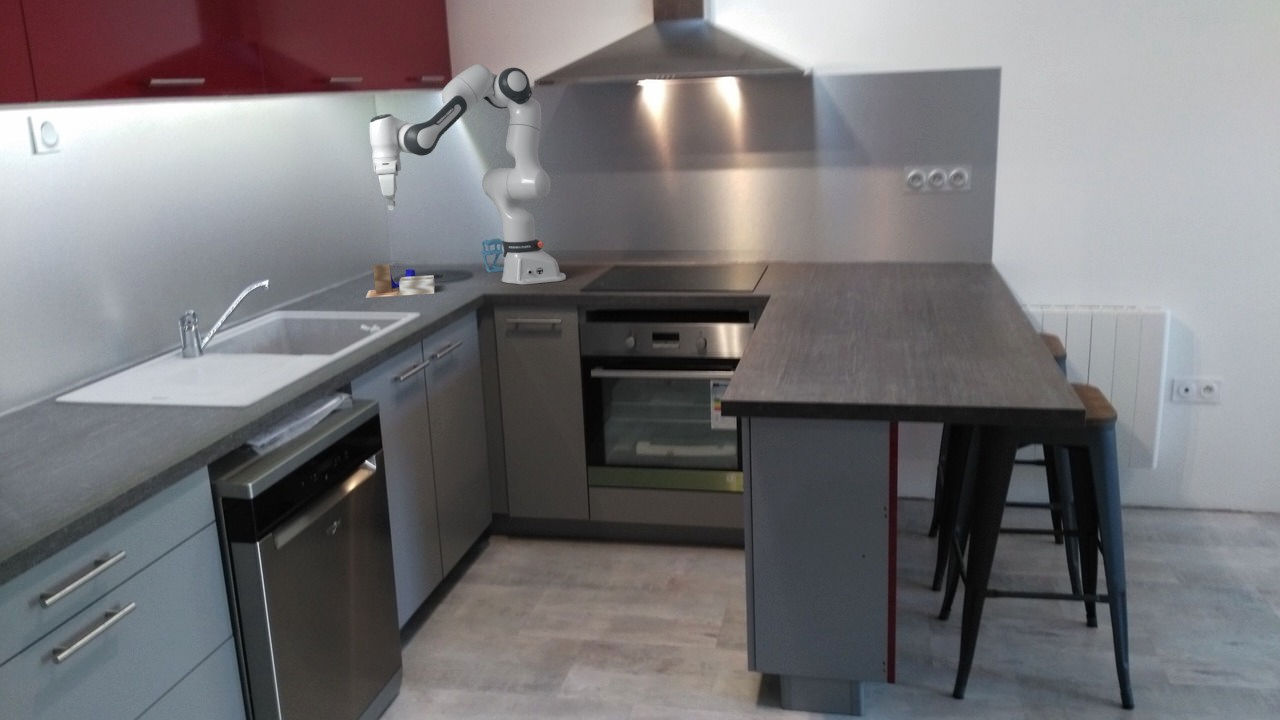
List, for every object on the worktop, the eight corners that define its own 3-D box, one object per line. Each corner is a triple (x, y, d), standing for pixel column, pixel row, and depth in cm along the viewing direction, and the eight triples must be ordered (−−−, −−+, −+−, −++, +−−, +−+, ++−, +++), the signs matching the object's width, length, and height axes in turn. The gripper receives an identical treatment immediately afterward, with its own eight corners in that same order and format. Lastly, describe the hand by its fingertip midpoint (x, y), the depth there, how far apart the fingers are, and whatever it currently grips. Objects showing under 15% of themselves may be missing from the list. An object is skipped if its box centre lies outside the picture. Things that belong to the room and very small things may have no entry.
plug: (392, 290, 356) (389, 264, 354) (391, 292, 353) (389, 265, 350) (376, 291, 355) (373, 265, 353) (375, 293, 352) (373, 266, 350)
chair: (499, 267, 403) (496, 236, 400) (507, 270, 396) (505, 238, 393) (480, 269, 399) (477, 238, 396) (488, 272, 392) (486, 240, 389)
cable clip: (407, 285, 373) (406, 268, 371) (416, 286, 370) (414, 269, 368) (380, 291, 363) (379, 274, 362) (389, 292, 361) (388, 275, 359)
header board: (435, 289, 363) (433, 274, 362) (434, 296, 350) (433, 281, 349) (369, 293, 360) (367, 278, 358) (365, 300, 347) (364, 285, 346)
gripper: (378, 163, 356) (384, 204, 360) (375, 169, 337) (380, 213, 341) (398, 162, 357) (402, 203, 361) (395, 168, 338) (400, 211, 342)
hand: (392, 208), depth 351 cm, fingers open, 8 cm apart
